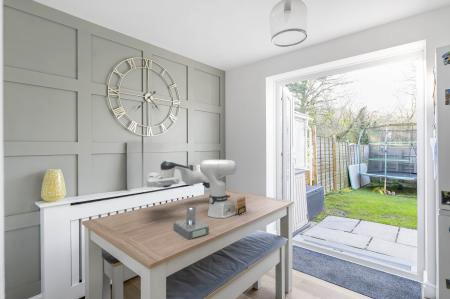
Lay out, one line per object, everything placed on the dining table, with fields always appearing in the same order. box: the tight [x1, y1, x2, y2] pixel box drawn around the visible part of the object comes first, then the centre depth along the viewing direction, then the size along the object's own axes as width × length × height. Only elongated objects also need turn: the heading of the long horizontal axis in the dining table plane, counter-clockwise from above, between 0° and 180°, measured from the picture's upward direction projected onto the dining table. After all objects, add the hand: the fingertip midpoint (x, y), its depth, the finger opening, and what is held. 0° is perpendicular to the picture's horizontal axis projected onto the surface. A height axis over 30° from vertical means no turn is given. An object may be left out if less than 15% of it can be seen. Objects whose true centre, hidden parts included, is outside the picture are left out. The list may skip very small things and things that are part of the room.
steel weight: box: [186, 206, 197, 225], centre depth 133 cm, size 5×5×9 cm
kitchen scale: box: [172, 218, 210, 240], centre depth 133 cm, size 13×18×5 cm
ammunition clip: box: [235, 196, 247, 216], centre depth 168 cm, size 11×2×12 cm, turn 143°
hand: (168, 183), depth 145 cm, fingers open, 8 cm apart
